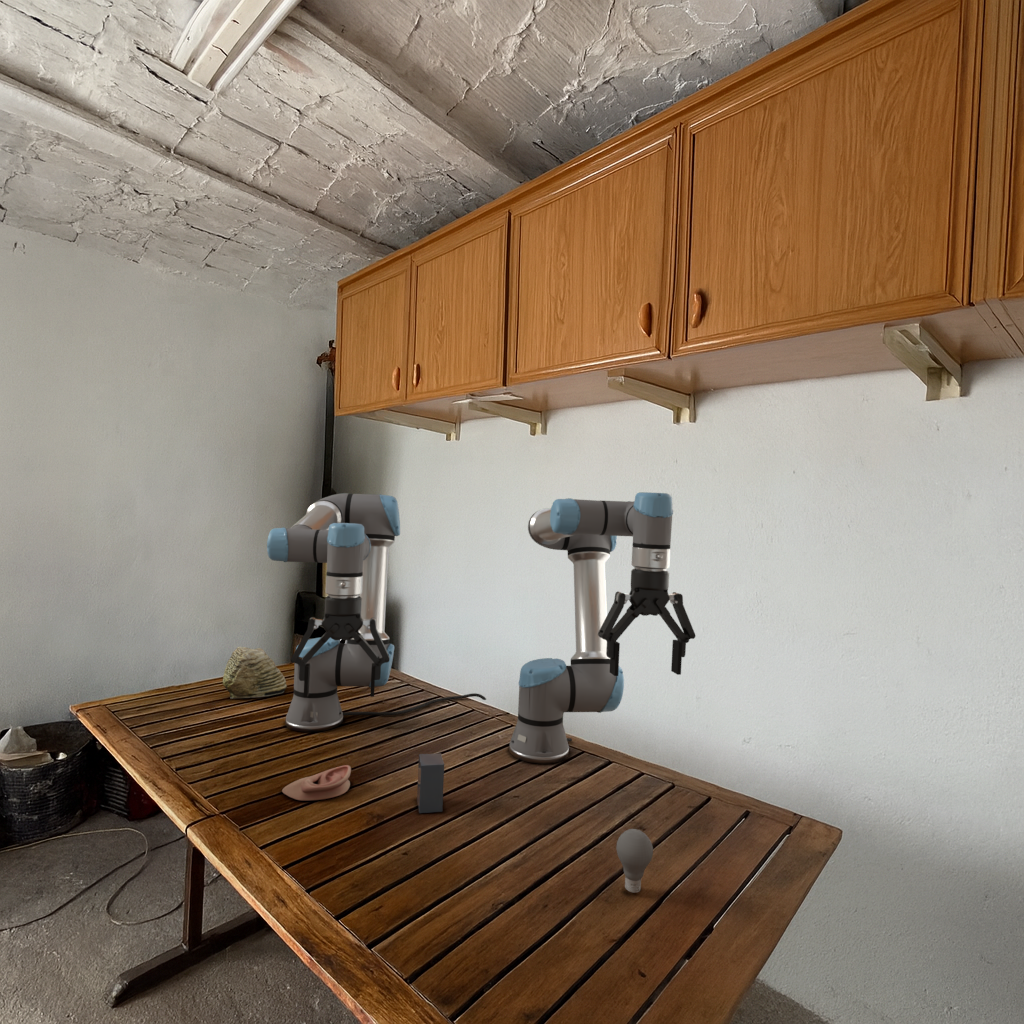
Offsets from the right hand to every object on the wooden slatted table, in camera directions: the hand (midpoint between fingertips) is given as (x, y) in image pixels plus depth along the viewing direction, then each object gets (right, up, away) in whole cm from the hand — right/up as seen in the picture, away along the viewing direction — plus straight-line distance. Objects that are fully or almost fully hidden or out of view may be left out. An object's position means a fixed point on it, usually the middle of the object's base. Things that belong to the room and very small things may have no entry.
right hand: (645, 673), depth 128 cm
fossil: (-108, -25, +70) cm, 131 cm away
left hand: (-64, -6, +6) cm, 64 cm away
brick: (-44, -29, +4) cm, 53 cm away
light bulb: (-7, -31, -22) cm, 39 cm away
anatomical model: (-69, -27, +9) cm, 75 cm away
